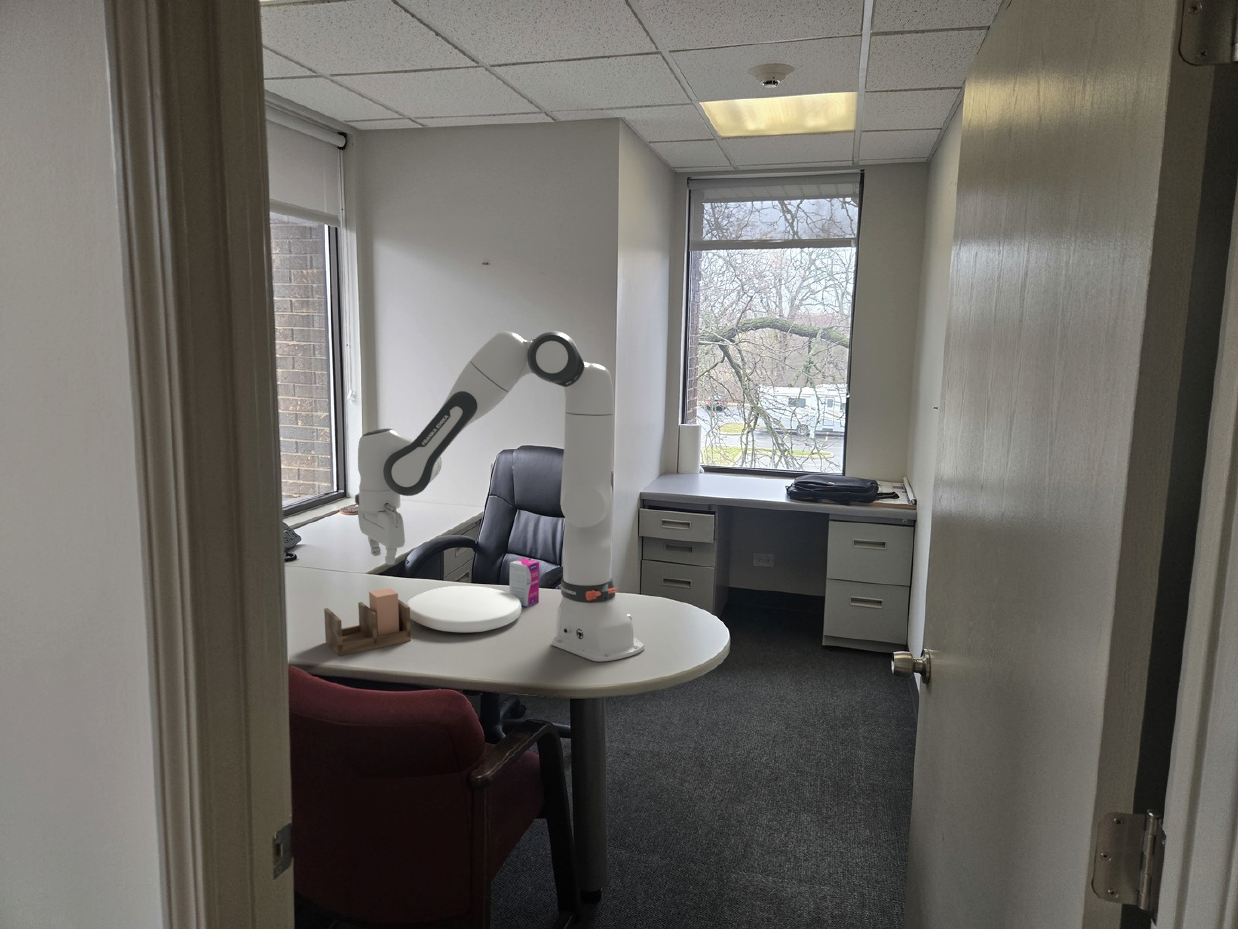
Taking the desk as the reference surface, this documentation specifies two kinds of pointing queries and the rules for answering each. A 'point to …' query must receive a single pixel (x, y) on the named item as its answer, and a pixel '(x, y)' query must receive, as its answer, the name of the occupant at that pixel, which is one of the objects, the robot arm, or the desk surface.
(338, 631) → the desk organiser
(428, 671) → the desk surface
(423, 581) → the desk surface
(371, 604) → the terracotta block
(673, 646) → the desk surface
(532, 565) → the supplement box
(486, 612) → the plate
